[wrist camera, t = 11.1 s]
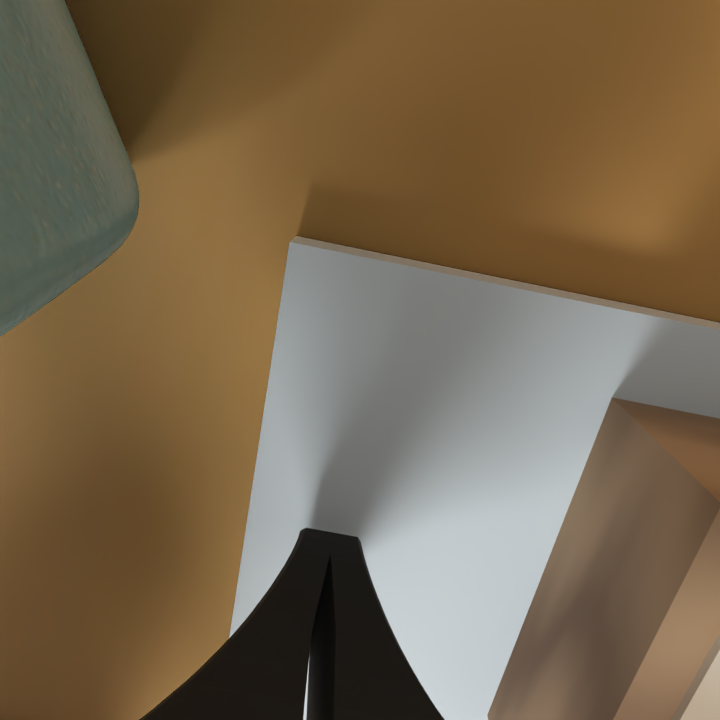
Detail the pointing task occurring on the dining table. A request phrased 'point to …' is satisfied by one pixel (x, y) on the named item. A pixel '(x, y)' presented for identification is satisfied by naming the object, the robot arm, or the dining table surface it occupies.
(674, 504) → the frame
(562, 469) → the wall panel
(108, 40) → the dining table surface
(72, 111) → the flower pot
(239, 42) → the dining table surface
